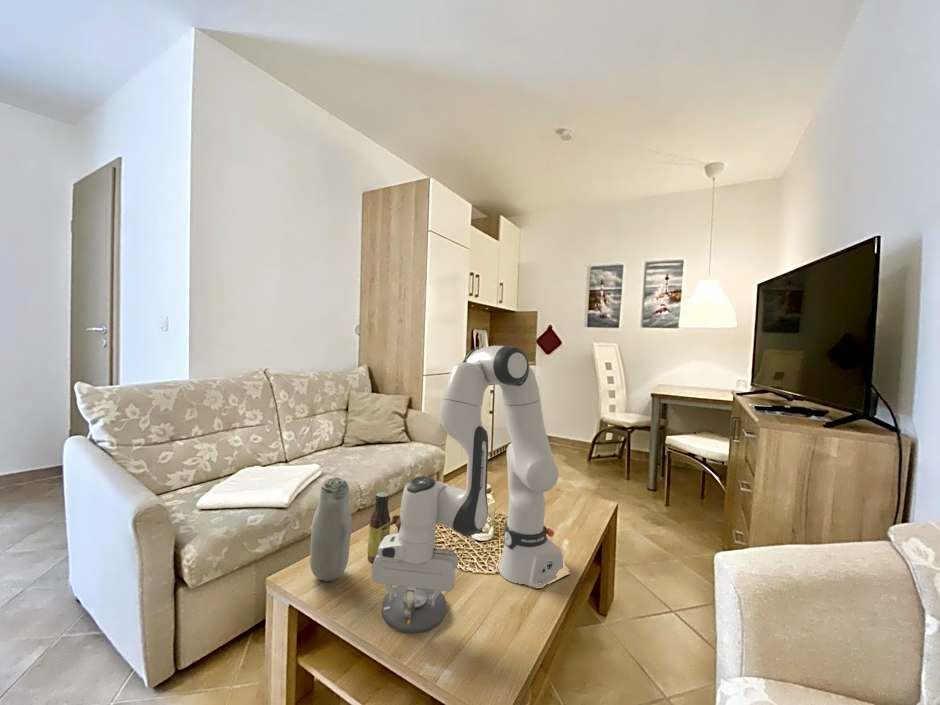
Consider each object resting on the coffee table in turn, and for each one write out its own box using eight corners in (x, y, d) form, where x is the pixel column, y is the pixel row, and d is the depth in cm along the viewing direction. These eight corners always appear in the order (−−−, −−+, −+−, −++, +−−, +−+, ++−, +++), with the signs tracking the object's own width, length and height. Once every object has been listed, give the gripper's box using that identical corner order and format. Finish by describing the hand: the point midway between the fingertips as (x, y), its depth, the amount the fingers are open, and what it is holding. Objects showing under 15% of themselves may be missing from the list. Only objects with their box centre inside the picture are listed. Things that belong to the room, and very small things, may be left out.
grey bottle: (301, 581, 109) (307, 481, 108) (326, 563, 119) (333, 470, 118) (330, 592, 106) (337, 488, 105) (354, 572, 115) (361, 476, 114)
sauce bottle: (382, 565, 120) (387, 500, 119) (363, 561, 121) (367, 497, 120) (391, 554, 126) (395, 492, 125) (372, 550, 127) (377, 489, 127)
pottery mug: (384, 542, 134) (385, 515, 138) (396, 542, 142) (397, 517, 146) (417, 539, 131) (417, 512, 135) (428, 540, 139) (428, 515, 143)
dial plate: (432, 584, 113) (432, 576, 112) (455, 623, 98) (456, 614, 98) (375, 597, 105) (375, 589, 105) (391, 641, 91) (392, 631, 91)
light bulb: (407, 591, 105) (408, 569, 105) (429, 595, 104) (431, 573, 104) (394, 616, 96) (396, 591, 95) (418, 621, 95) (420, 596, 95)
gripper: (460, 544, 99) (455, 598, 100) (378, 535, 100) (374, 589, 101) (457, 558, 93) (453, 616, 93) (371, 548, 94) (367, 605, 94)
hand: (411, 602), depth 97 cm, fingers open, 8 cm apart
